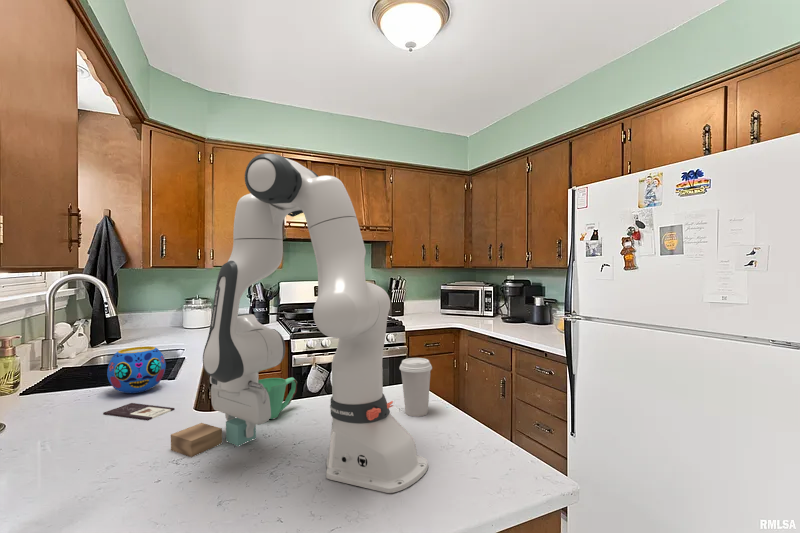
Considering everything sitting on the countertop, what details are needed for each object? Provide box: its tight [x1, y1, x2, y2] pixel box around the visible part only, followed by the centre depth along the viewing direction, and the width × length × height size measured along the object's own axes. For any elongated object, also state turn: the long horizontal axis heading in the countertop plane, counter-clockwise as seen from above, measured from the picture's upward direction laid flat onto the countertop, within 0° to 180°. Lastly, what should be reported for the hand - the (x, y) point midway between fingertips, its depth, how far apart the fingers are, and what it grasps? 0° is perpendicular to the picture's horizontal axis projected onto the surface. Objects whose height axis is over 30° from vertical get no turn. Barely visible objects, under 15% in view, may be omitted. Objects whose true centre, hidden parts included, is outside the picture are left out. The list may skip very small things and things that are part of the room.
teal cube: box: [225, 417, 257, 447], centre depth 100 cm, size 5×5×5 cm
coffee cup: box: [399, 357, 433, 418], centre depth 117 cm, size 10×10×15 cm
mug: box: [258, 377, 298, 420], centre depth 118 cm, size 15×10×10 cm
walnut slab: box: [170, 422, 223, 458], centre depth 97 cm, size 8×8×4 cm
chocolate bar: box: [102, 402, 175, 421], centre depth 122 cm, size 9×1×18 cm
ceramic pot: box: [106, 345, 167, 394], centre depth 144 cm, size 18×18×15 cm
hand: (241, 433), depth 100 cm, fingers closed on teal cube, 5 cm apart
